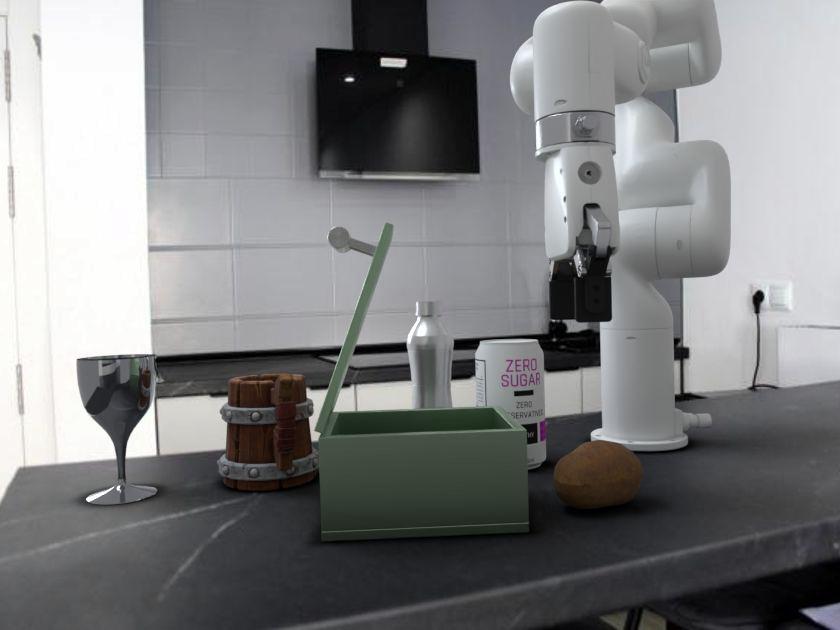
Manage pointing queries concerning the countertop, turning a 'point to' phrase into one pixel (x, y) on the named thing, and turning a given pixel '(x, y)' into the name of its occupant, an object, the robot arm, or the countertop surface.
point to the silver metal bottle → (430, 357)
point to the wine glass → (118, 410)
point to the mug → (268, 433)
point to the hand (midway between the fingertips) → (578, 320)
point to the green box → (423, 473)
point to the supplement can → (515, 387)
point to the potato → (598, 475)
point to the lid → (343, 244)
